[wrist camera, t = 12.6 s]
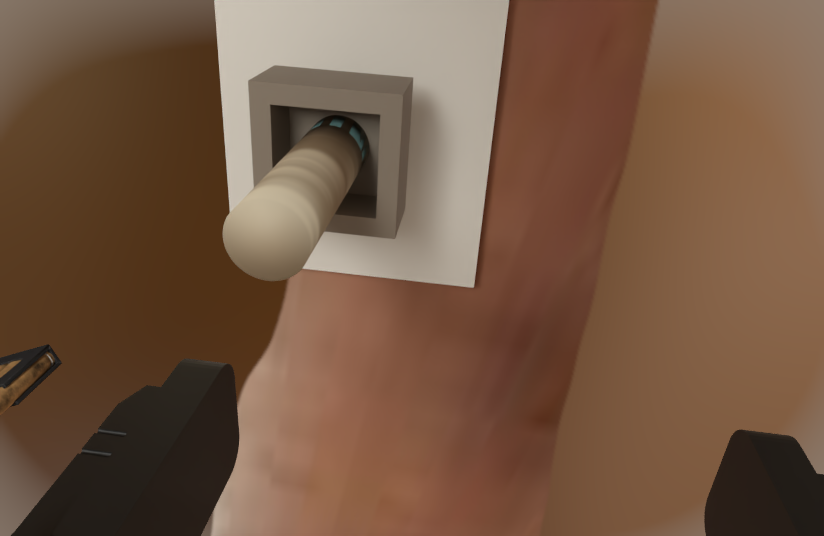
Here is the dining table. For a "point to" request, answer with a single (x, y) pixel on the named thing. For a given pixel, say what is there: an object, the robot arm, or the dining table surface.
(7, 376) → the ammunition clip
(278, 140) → the cup bracket
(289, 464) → the dining table surface
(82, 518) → the robot arm
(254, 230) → the rail post
